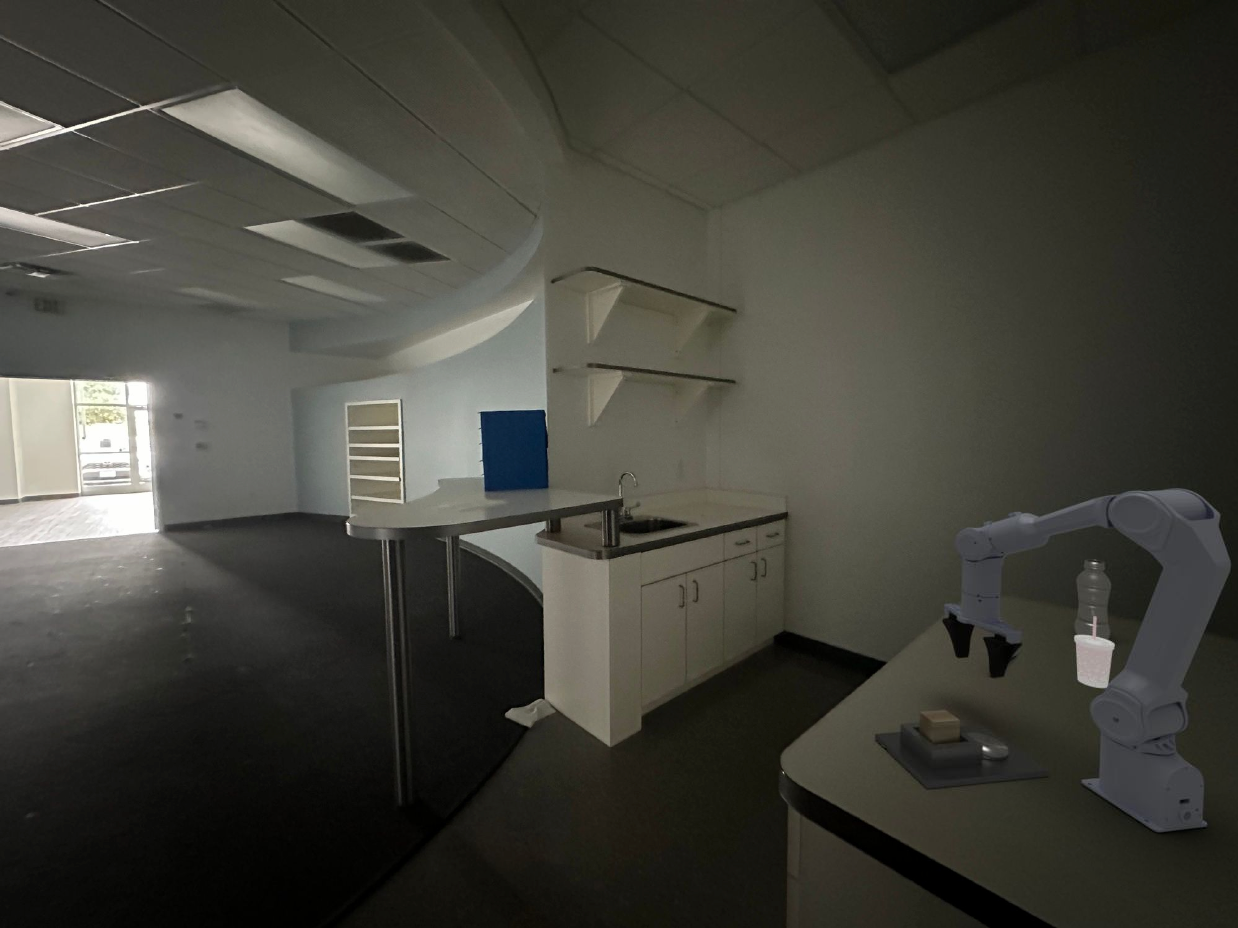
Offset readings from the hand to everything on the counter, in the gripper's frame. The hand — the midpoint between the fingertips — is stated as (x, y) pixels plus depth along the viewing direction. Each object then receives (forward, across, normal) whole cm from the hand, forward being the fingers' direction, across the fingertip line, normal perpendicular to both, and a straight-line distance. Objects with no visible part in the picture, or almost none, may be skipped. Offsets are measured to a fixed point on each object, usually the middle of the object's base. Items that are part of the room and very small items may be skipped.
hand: (978, 666), depth 91 cm
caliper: (+10, -18, +24) cm, 32 cm away
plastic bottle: (+10, -27, +57) cm, 64 cm away
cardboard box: (+8, +10, -16) cm, 21 cm away
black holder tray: (+9, +10, -13) cm, 19 cm away
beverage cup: (+10, -8, +34) cm, 36 cm away
